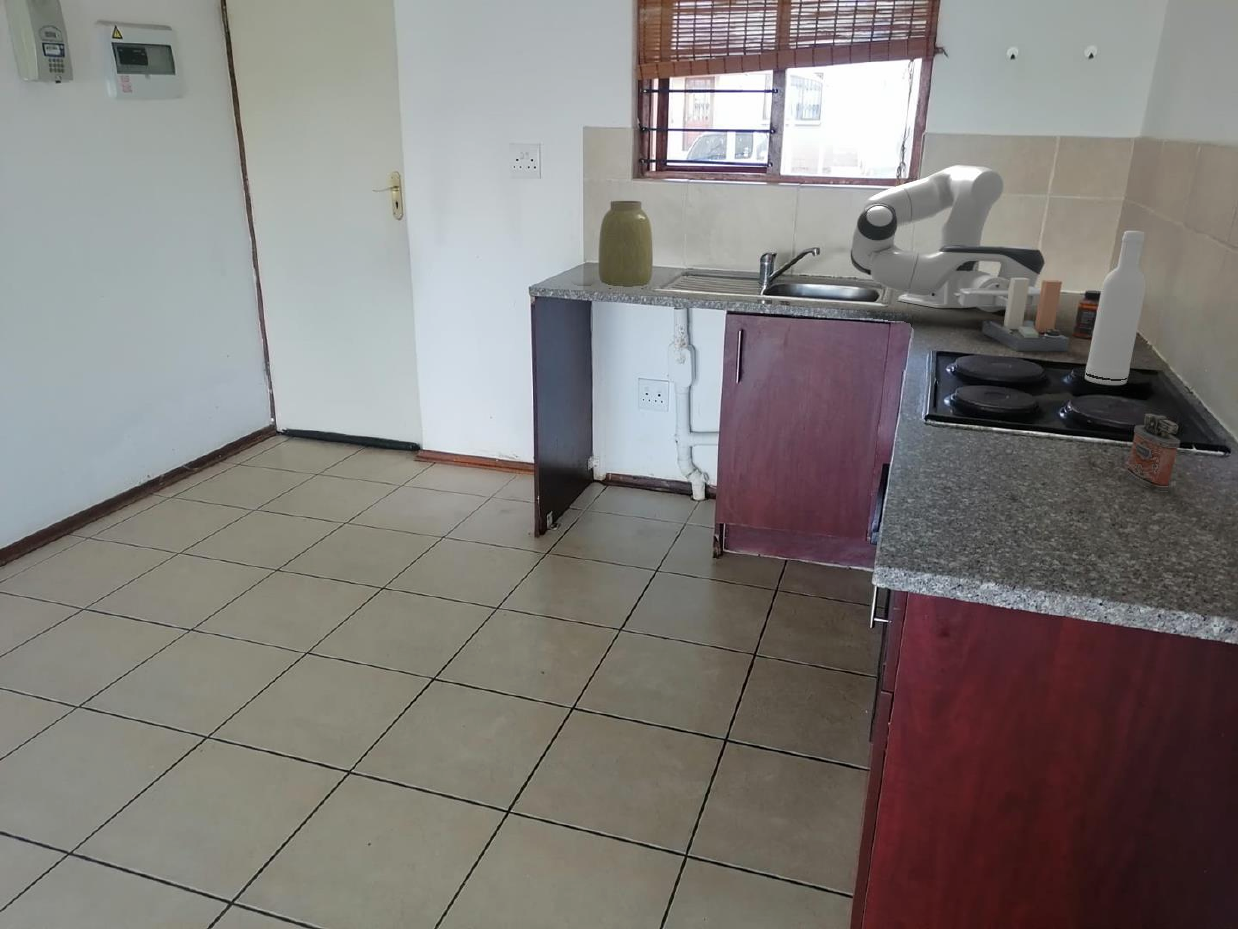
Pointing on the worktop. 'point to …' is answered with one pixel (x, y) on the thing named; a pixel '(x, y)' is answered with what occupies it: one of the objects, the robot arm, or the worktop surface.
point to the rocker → (1028, 332)
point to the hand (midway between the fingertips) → (1013, 303)
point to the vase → (625, 246)
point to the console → (1018, 342)
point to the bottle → (1118, 315)
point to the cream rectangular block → (1016, 303)
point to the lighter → (1153, 453)
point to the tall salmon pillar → (1048, 305)
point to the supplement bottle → (1087, 314)
